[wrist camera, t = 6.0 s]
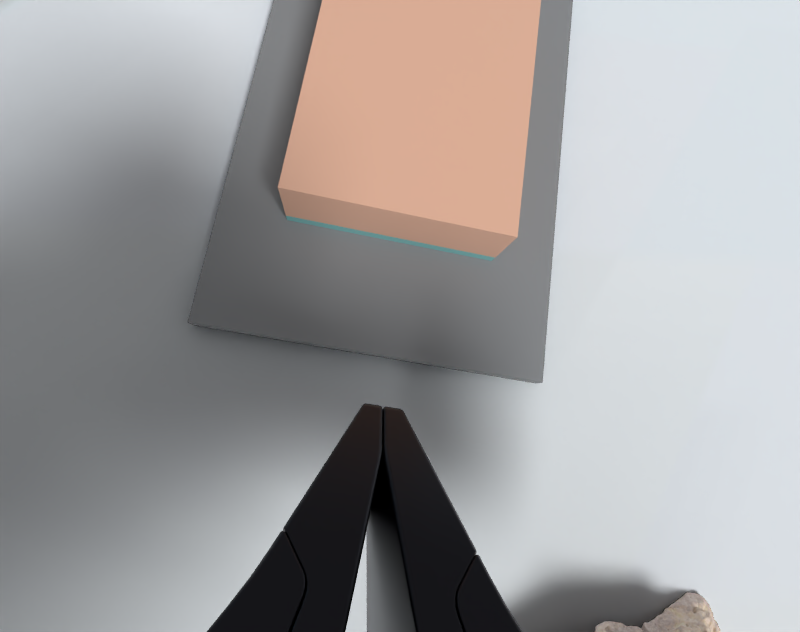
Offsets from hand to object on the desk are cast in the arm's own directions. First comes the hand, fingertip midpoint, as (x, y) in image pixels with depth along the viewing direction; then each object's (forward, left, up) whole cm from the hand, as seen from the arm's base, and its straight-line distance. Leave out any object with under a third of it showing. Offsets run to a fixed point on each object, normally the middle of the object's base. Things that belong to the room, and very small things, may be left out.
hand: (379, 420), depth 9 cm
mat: (+11, +5, -7) cm, 13 cm away
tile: (+6, +3, -5) cm, 8 cm away
